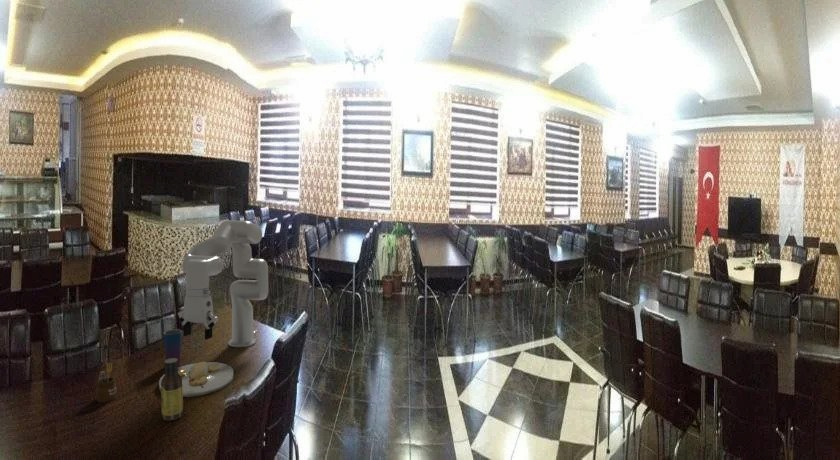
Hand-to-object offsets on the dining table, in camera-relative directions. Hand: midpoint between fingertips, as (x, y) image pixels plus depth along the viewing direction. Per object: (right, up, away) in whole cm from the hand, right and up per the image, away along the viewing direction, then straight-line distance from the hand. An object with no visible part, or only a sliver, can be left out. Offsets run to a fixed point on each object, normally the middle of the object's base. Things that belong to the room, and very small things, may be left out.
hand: (197, 336), depth 162 cm
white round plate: (-4, -20, +8) cm, 22 cm away
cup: (-21, -18, +21) cm, 35 cm away
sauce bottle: (+1, -23, -18) cm, 29 cm away
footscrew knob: (-1, -18, +2) cm, 18 cm away
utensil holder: (-28, -20, -8) cm, 36 cm away
